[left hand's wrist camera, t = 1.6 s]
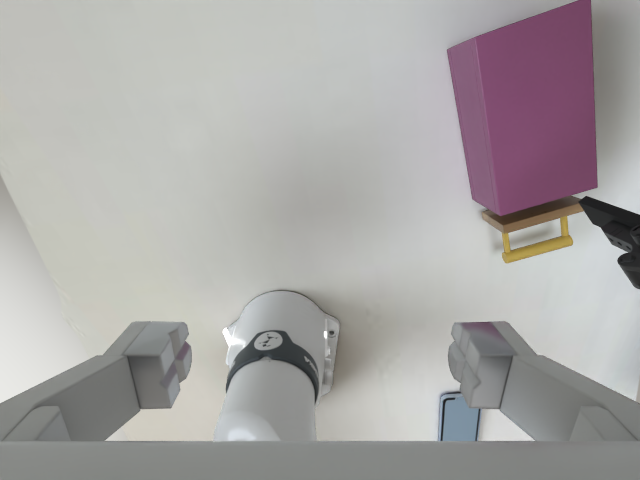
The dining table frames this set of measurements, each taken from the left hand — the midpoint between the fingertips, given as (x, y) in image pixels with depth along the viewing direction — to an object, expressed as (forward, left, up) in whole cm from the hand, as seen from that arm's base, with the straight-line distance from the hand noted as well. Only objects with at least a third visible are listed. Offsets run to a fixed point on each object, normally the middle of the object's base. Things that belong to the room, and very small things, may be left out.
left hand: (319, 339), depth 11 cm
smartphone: (-51, -21, -40) cm, 68 cm away
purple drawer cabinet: (+3, -25, -39) cm, 47 cm away
